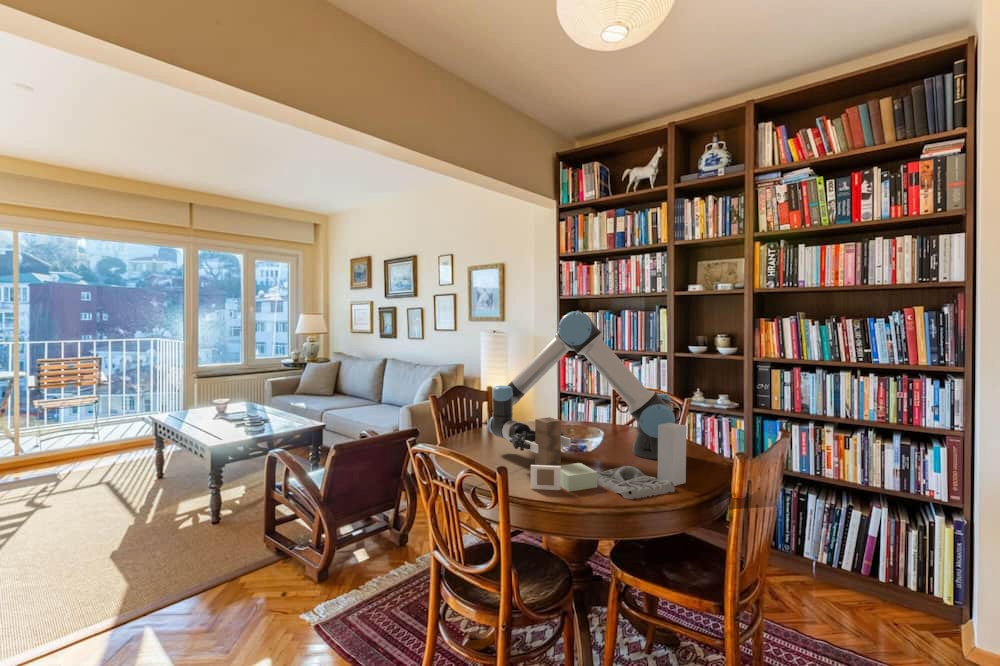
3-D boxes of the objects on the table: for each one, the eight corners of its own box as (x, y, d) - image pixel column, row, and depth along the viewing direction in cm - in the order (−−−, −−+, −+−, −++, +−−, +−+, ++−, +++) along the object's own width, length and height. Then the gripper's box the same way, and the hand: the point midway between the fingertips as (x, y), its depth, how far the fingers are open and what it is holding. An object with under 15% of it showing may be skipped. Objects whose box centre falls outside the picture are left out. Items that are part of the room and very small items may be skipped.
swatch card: (530, 487, 148) (530, 464, 148) (560, 488, 147) (560, 466, 147) (530, 489, 147) (530, 466, 146) (560, 490, 146) (560, 467, 145)
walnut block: (549, 469, 166) (549, 417, 165) (560, 474, 161) (560, 420, 160) (535, 472, 162) (535, 419, 162) (546, 477, 157) (546, 422, 157)
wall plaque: (679, 492, 146) (679, 479, 145) (627, 502, 138) (627, 488, 138) (628, 469, 167) (628, 458, 167) (581, 477, 160) (581, 465, 159)
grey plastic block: (669, 477, 158) (670, 422, 157) (685, 482, 153) (686, 425, 152) (657, 480, 154) (658, 424, 154) (673, 486, 149) (674, 428, 149)
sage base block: (580, 478, 158) (580, 462, 158) (597, 488, 149) (597, 472, 148) (552, 481, 154) (553, 466, 154) (568, 492, 145) (568, 475, 145)
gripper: (544, 438, 183) (582, 451, 165) (487, 447, 170) (522, 463, 152) (544, 418, 183) (582, 429, 165) (487, 426, 169) (522, 439, 152)
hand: (554, 445), depth 158 cm, fingers open, 13 cm apart
